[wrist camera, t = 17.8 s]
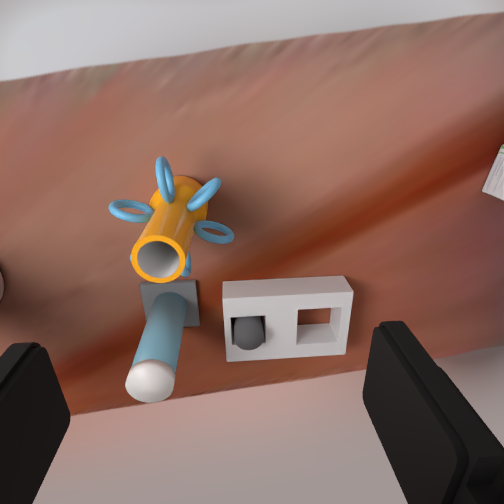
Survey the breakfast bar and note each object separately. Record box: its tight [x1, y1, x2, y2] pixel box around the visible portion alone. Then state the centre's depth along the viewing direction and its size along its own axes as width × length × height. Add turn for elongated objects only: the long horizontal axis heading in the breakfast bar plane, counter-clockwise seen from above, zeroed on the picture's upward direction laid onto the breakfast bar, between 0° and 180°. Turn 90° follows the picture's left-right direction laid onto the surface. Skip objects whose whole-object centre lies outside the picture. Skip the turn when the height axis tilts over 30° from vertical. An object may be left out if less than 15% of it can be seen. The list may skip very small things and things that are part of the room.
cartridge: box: [125, 292, 187, 403], centre depth 38 cm, size 4×4×13 cm
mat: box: [140, 280, 200, 327], centre depth 44 cm, size 7×7×1 cm
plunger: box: [234, 316, 264, 350], centre depth 43 cm, size 4×4×5 cm
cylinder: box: [109, 157, 235, 283], centre depth 32 cm, size 12×10×15 cm
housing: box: [222, 275, 354, 362], centre depth 44 cm, size 16×10×4 cm, turn 91°
